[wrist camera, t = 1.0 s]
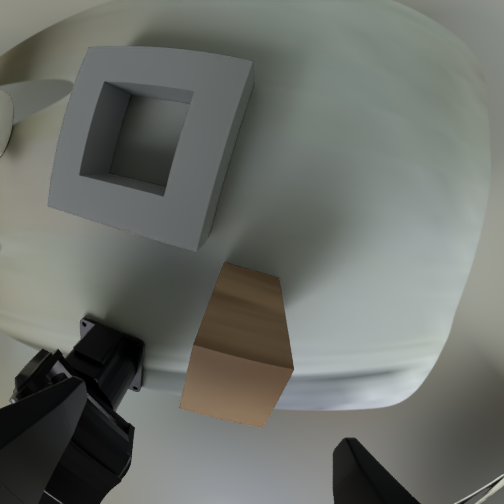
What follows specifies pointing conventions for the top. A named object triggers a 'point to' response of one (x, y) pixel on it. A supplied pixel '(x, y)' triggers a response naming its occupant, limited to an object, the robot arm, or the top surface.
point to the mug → (5, 119)
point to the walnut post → (240, 350)
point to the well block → (187, 152)
